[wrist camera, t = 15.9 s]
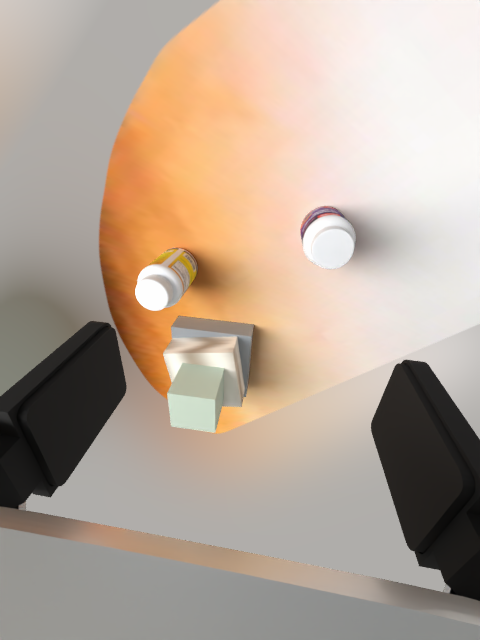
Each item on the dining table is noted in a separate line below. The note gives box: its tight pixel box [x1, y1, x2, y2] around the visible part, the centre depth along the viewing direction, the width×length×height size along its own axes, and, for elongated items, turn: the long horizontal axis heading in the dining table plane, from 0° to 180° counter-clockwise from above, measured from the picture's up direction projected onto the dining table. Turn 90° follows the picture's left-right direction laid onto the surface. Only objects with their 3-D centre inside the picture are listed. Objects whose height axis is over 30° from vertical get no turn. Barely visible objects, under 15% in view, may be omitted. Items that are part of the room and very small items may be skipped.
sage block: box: [167, 363, 224, 433], centre depth 39 cm, size 6×6×6 cm
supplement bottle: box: [135, 248, 198, 311], centre depth 36 cm, size 6×6×10 cm
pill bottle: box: [301, 206, 356, 269], centre depth 32 cm, size 5×5×10 cm
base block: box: [171, 316, 254, 397], centre depth 46 cm, size 12×12×4 cm
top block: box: [163, 336, 245, 407], centre depth 43 cm, size 10×10×4 cm
